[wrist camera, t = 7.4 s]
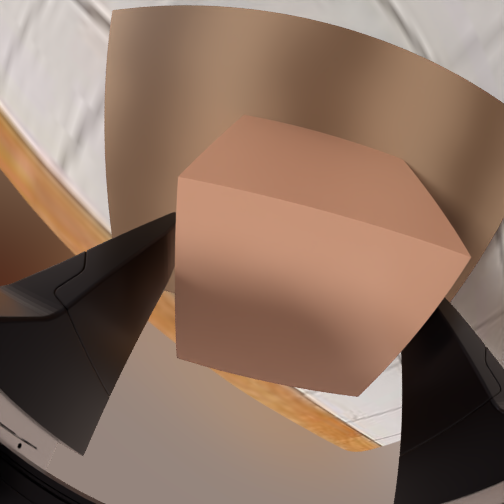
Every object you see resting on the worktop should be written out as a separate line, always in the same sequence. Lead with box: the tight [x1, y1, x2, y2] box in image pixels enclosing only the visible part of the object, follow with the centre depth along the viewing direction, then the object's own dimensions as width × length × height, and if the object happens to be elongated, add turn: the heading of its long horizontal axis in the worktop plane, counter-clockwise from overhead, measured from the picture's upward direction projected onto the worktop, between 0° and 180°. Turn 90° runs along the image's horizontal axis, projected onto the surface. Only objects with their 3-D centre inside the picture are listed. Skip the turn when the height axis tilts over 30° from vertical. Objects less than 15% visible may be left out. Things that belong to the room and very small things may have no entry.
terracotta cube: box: [175, 115, 471, 397], centre depth 9 cm, size 6×6×6 cm
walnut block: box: [105, 5, 504, 302], centre depth 13 cm, size 18×14×3 cm
